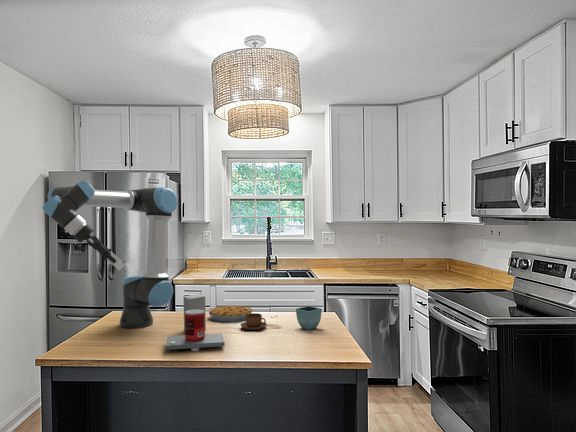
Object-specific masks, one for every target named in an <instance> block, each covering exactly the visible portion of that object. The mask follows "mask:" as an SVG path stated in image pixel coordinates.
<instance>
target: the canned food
mask: <svg viewBox="0 0 576 432" xmlns="http://www.w3.org/2000/svg"><path fill="white" fill-rule="evenodd" d="M205 316H206V311H205V312H204V310H201V309H193V310H187V311H185V330H184V335H185V339H186V340H187V341H191V342H194V341H201V340H203V339H204V337H205V334H206V333H205V332H206V330H205Z"/></svg>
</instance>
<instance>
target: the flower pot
mask: <svg viewBox="0 0 576 432" xmlns="http://www.w3.org/2000/svg"><path fill="white" fill-rule="evenodd" d="M322 310H323V309H322V308H321V307H316V306H311V305H306V306H301V307H297V308H295V314H296V319H297V322H298V324H299V327H301V328H302V329H305V330H313V329H317V328H318V326H319V325H320V323H321V318H322V312H323V311H322Z"/></svg>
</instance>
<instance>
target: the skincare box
mask: <svg viewBox="0 0 576 432" xmlns="http://www.w3.org/2000/svg"><path fill="white" fill-rule="evenodd" d="M193 309H201V310H204V312H205V313H206V296H205V295H203V294H201V293H199V294H191V295H183V330H184V331H185V311H187V310H193ZM206 324H207V322H206V315H205V331H206V330H207V327H206V326H207V325H206Z"/></svg>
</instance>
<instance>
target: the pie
mask: <svg viewBox="0 0 576 432" xmlns="http://www.w3.org/2000/svg"><path fill="white" fill-rule="evenodd" d="M252 313H253V309H252V308H251V307H246V306H244V305H243V306H241V305H221V306H220V307H219V306H215V308H211V309H210V310H209V311H208V315H210V318H211V320H212V321H215V322H223V323H224V322H225V323H232V322H235V323H237V322H241V321H246V315H247V314H252Z"/></svg>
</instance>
